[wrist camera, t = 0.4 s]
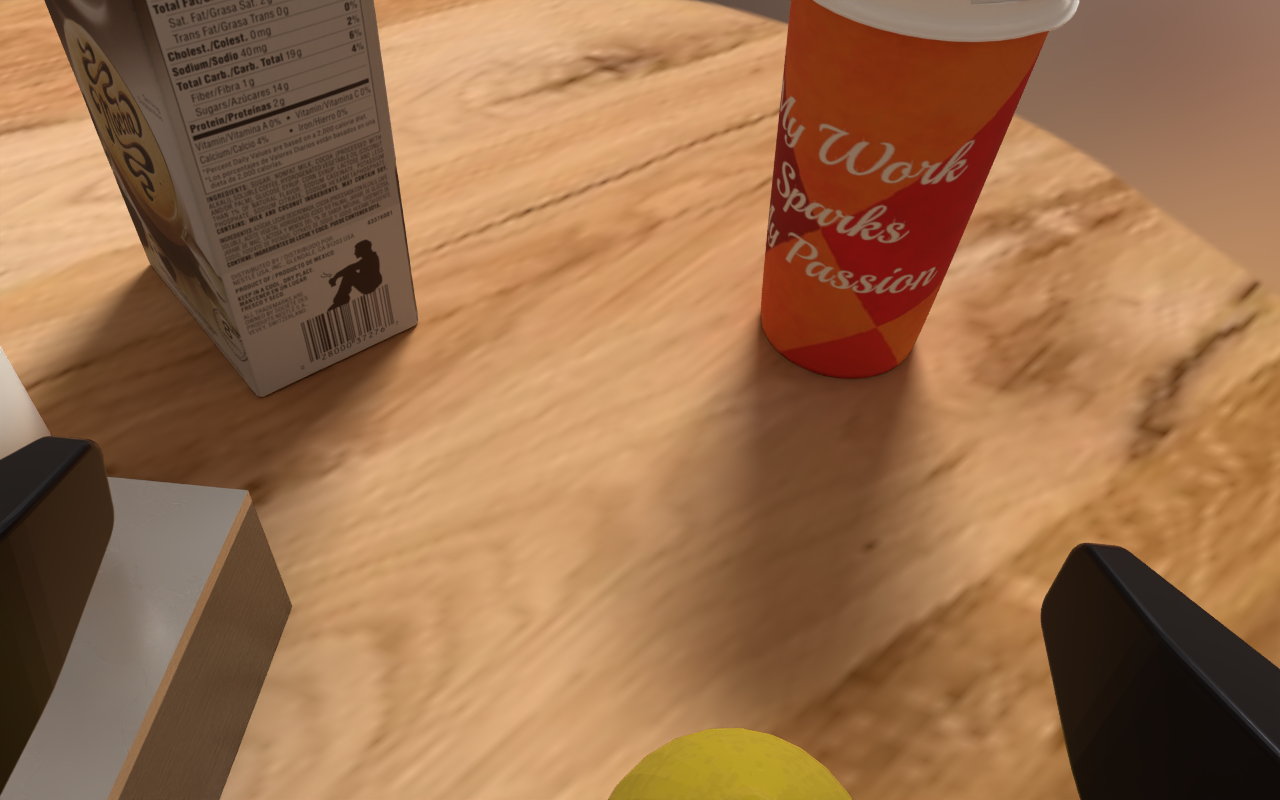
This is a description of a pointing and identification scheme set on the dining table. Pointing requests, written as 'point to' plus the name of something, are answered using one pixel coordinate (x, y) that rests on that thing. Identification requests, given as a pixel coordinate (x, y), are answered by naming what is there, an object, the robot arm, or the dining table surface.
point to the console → (161, 652)
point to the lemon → (729, 770)
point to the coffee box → (254, 168)
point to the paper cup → (884, 164)
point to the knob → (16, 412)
